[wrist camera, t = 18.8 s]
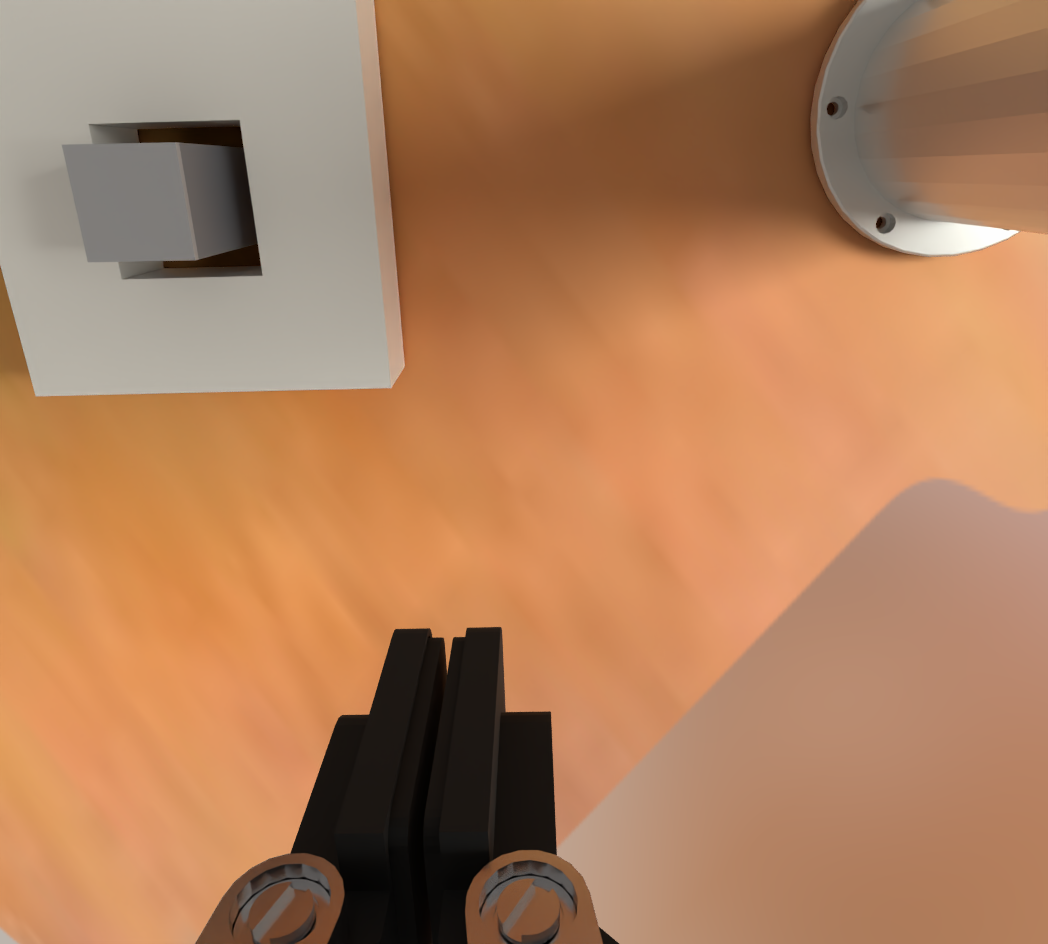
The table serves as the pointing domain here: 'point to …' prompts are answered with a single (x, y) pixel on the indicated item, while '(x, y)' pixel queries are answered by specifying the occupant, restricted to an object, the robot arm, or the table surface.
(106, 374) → the socket housing
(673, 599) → the table surface
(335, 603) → the table surface
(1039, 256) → the table surface
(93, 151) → the plug
